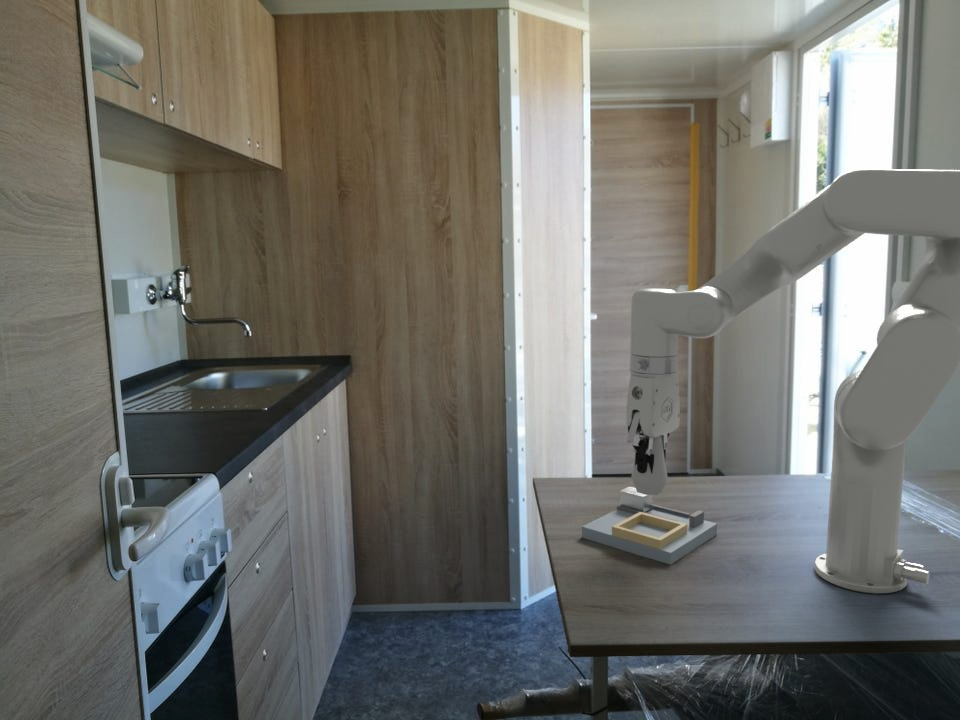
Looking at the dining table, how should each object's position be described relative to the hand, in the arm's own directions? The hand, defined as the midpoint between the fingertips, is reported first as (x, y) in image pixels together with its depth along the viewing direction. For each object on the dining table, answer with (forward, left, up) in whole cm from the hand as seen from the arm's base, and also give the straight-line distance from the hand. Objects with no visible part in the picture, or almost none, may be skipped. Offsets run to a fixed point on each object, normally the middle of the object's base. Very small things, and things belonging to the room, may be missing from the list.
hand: (649, 472), depth 124 cm
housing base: (+2, -4, -13) cm, 13 cm away
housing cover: (+8, -9, -10) cm, 16 cm away
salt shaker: (0, 0, -3) cm, 3 cm away
